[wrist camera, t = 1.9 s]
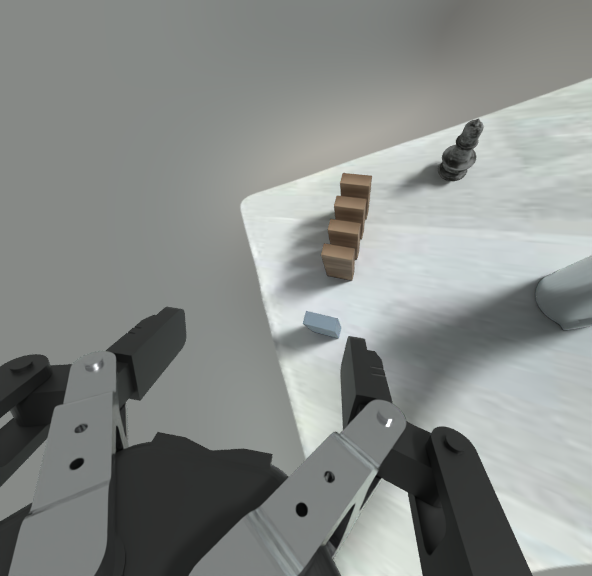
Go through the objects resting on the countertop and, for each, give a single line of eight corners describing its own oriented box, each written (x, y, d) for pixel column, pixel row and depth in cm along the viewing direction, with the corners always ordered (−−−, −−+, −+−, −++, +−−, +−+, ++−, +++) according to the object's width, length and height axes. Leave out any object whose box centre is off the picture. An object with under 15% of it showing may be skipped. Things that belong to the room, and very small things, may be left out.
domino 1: (366, 219, 55) (369, 186, 45) (342, 216, 56) (340, 182, 46) (368, 210, 56) (371, 175, 45) (344, 207, 57) (342, 173, 46)
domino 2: (361, 239, 54) (363, 209, 44) (337, 235, 55) (333, 205, 45) (363, 230, 55) (366, 199, 44) (339, 226, 56) (336, 195, 46)
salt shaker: (467, 156, 54) (497, 102, 43) (469, 181, 53) (501, 131, 42) (435, 158, 56) (457, 106, 44) (437, 183, 54) (459, 135, 43)
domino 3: (357, 259, 53) (357, 234, 43) (332, 255, 55) (327, 229, 44) (359, 250, 54) (360, 223, 43) (334, 246, 55) (330, 219, 45)
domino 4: (352, 280, 52) (351, 260, 42) (327, 275, 54) (321, 254, 43) (354, 271, 53) (354, 248, 42) (329, 266, 54) (324, 243, 44)
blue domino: (338, 338, 50) (334, 331, 39) (313, 331, 51) (302, 323, 41) (341, 327, 50) (337, 318, 40) (315, 321, 52) (306, 310, 41)
